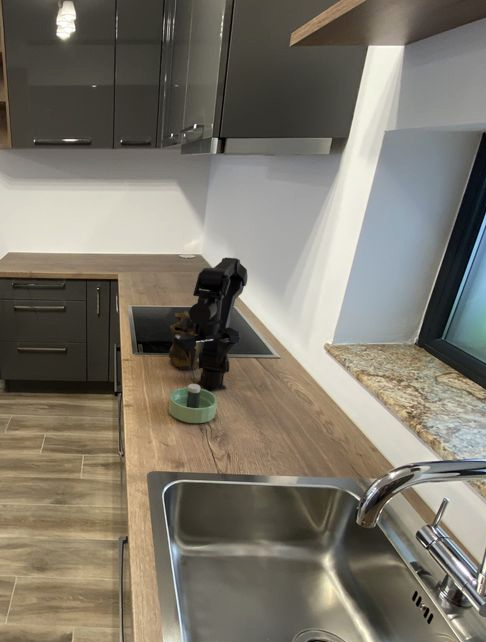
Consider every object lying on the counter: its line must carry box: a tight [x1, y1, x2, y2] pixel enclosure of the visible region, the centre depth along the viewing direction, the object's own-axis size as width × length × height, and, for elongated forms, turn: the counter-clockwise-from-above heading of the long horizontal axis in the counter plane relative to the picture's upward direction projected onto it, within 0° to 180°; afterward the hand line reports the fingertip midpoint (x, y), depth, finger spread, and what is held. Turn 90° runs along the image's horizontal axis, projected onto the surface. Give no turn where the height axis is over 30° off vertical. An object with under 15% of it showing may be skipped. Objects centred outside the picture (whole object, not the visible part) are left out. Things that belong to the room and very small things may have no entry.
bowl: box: [168, 386, 218, 424], centre depth 127 cm, size 13×13×5 cm
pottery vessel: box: [168, 310, 202, 371], centre depth 156 cm, size 25×11×20 cm, turn 164°
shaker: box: [186, 383, 202, 408], centre depth 126 cm, size 4×4×8 cm
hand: (204, 365), depth 130 cm, fingers open, 9 cm apart
